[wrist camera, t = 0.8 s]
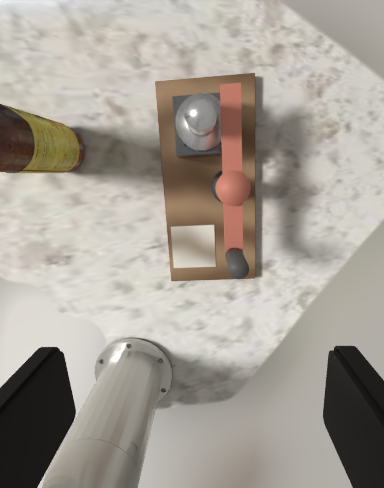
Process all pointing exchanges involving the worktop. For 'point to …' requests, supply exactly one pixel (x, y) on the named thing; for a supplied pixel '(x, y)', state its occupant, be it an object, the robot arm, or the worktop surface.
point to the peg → (199, 121)
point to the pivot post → (213, 185)
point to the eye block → (181, 148)
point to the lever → (232, 179)
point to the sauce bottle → (36, 144)
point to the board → (203, 186)
